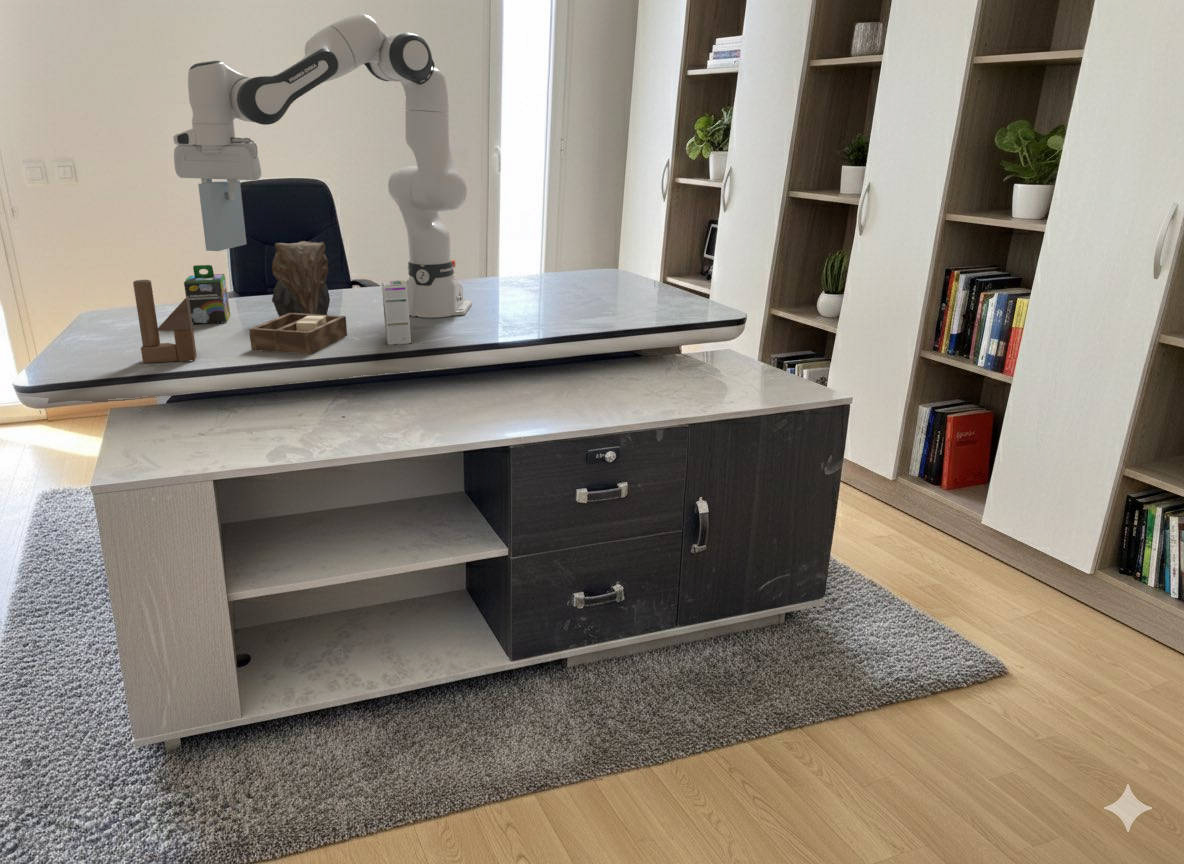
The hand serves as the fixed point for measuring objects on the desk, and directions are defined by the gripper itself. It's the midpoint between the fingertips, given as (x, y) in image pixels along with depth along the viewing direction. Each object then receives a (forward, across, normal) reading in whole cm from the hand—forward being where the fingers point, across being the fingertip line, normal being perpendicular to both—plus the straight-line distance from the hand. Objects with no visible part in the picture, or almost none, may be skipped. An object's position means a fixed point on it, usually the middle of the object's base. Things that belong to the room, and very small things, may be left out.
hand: (221, 199), depth 217 cm
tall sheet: (+11, 0, 0) cm, 11 cm away
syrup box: (+33, -39, -7) cm, 52 cm away
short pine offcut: (+29, -20, 0) cm, 36 cm away
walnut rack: (+33, -17, 0) cm, 37 cm away
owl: (+33, -5, -24) cm, 41 cm away
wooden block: (+34, +3, +22) cm, 40 cm away
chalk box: (+34, +18, -16) cm, 41 cm away
